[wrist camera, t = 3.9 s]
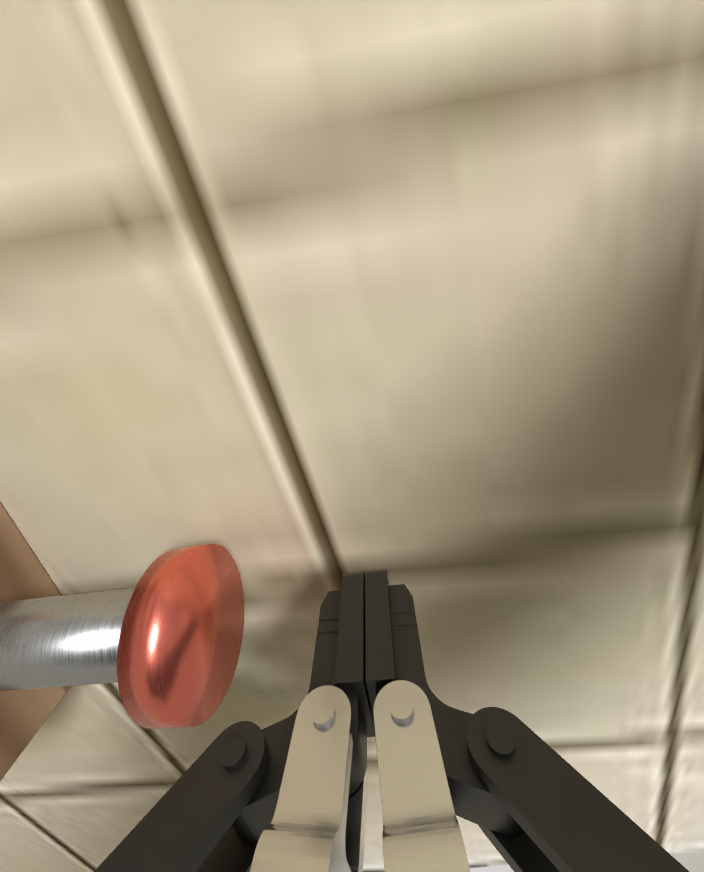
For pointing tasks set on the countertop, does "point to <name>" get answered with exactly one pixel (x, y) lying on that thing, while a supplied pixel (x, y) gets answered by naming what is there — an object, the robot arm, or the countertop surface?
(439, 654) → the countertop surface
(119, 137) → the countertop surface
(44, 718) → the block
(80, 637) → the lynch pin
